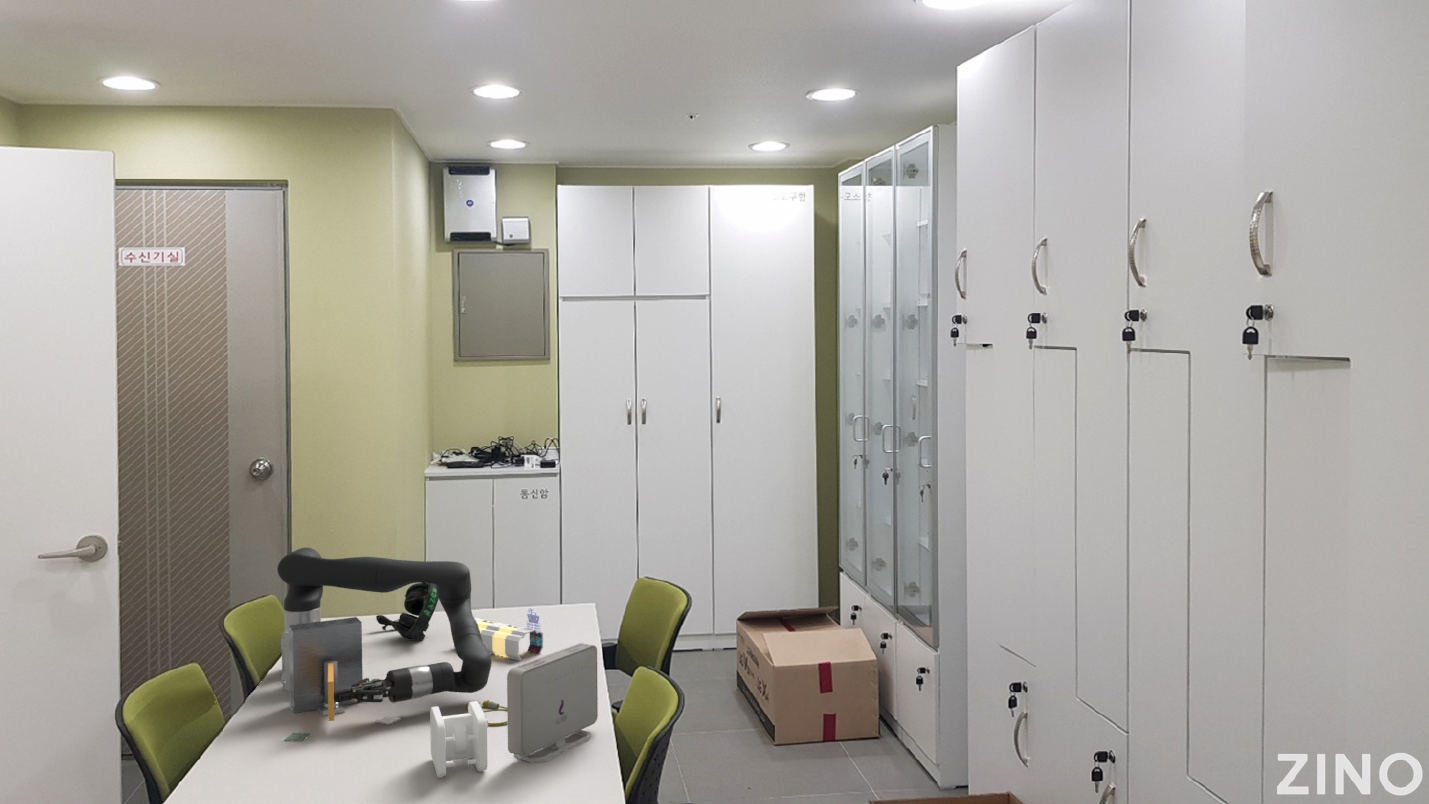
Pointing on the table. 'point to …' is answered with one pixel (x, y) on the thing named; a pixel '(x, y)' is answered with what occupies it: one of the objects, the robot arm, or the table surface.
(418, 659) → the table surface
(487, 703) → the extension cord
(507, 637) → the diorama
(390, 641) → the table surface
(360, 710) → the table surface
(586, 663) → the network device
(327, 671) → the orange rectangular panel
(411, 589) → the headset
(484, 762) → the cable organizer
